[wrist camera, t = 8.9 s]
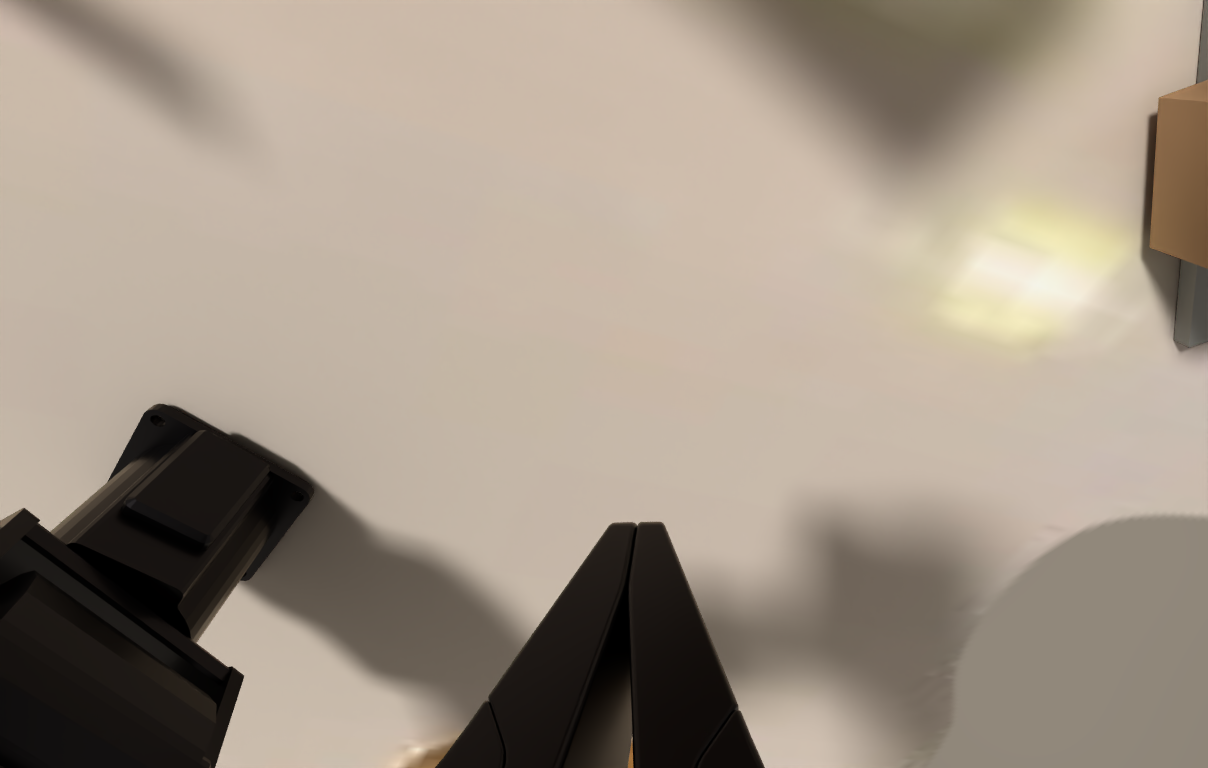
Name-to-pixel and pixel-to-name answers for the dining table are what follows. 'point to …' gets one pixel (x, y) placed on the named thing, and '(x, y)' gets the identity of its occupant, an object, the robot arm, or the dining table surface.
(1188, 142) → the walnut block
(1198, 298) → the mat
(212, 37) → the dining table surface
